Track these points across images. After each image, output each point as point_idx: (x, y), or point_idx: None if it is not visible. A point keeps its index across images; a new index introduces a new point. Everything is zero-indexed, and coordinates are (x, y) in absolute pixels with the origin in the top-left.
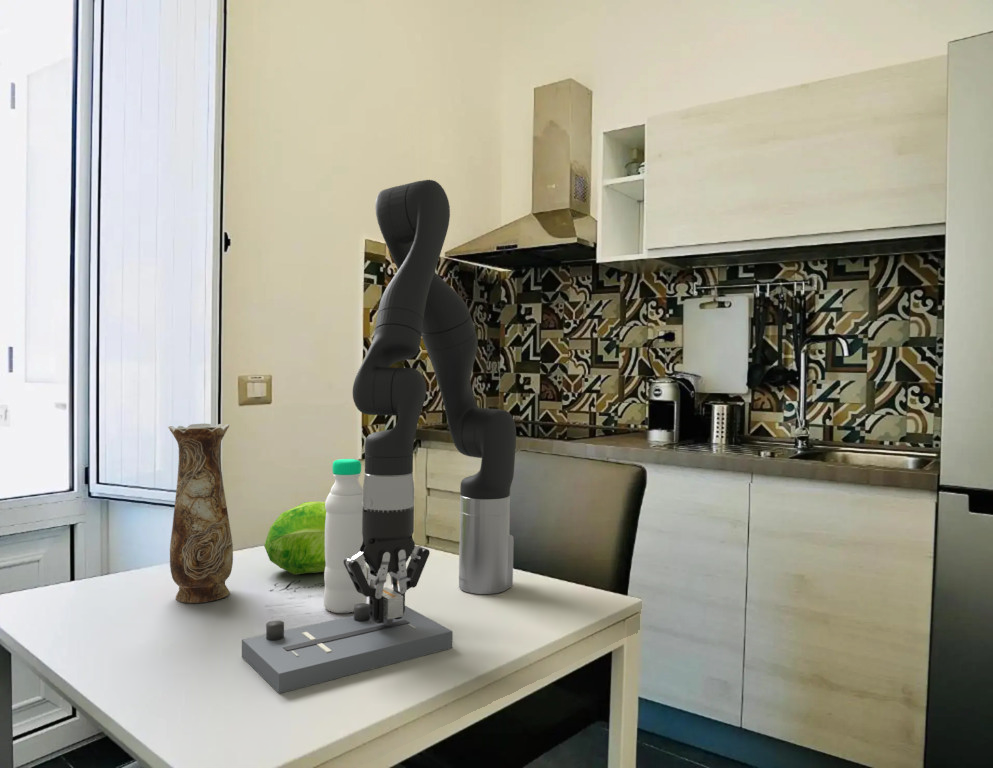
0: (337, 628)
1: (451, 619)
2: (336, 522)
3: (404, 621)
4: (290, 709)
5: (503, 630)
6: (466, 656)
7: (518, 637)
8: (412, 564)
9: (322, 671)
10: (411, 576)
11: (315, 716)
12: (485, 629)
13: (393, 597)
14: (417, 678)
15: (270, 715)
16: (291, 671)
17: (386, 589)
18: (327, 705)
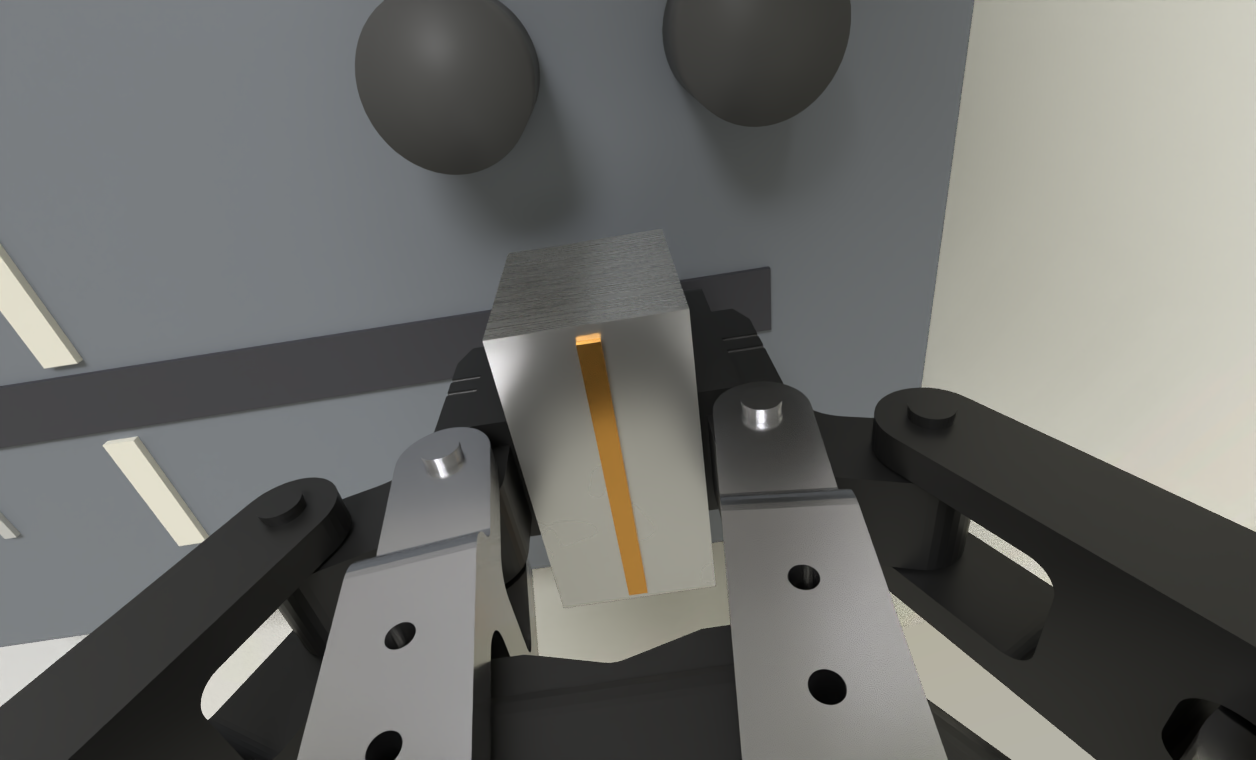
0: (235, 214)
1: (1207, 41)
2: None
3: (750, 297)
4: None
5: (1237, 360)
6: None
7: (1195, 457)
8: (1113, 658)
9: None
10: (935, 604)
11: (208, 715)
12: (1187, 311)
13: (620, 592)
14: (590, 623)
15: None
16: (26, 639)
17: (653, 381)
18: (245, 679)
